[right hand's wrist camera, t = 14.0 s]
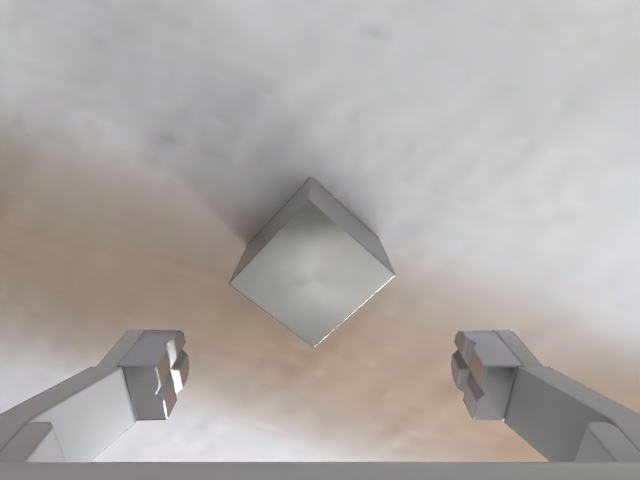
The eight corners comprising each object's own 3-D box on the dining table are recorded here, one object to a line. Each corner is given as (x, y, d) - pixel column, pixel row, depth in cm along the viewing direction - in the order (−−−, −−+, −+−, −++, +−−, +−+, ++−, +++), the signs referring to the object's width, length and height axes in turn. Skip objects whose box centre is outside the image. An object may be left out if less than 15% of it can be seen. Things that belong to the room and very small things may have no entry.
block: (314, 300, 19) (313, 348, 15) (246, 246, 18) (227, 283, 14) (380, 239, 18) (396, 275, 14) (311, 175, 17) (309, 197, 13)
